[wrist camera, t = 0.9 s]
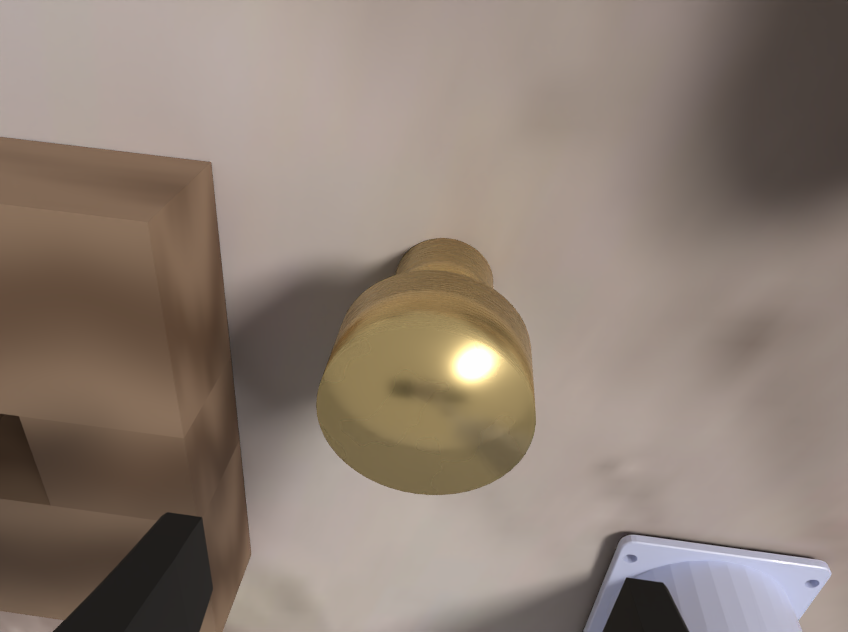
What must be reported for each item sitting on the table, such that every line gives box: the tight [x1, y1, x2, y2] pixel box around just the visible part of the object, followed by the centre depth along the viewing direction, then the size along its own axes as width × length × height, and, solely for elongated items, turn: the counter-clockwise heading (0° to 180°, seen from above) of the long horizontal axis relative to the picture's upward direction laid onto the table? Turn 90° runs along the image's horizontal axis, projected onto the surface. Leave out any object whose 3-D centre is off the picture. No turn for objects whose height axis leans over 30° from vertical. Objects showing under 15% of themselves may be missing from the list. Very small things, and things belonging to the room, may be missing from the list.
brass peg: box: [316, 238, 536, 495], centre depth 17 cm, size 5×5×6 cm
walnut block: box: [0, 137, 251, 632], centre depth 22 cm, size 18×14×4 cm
